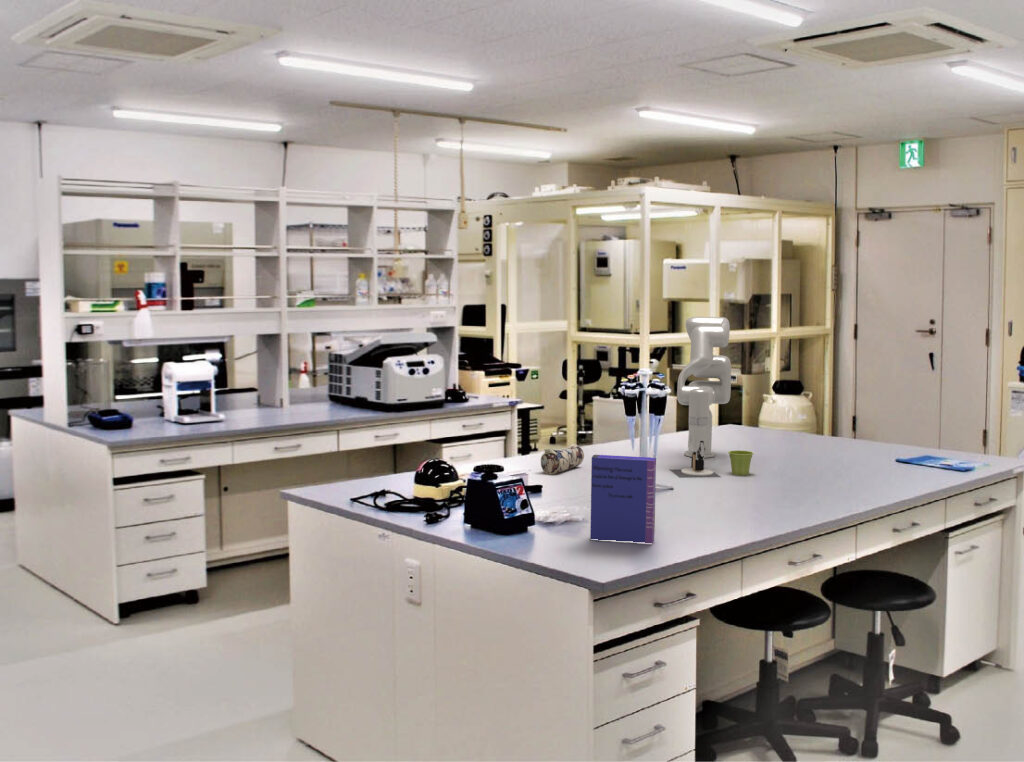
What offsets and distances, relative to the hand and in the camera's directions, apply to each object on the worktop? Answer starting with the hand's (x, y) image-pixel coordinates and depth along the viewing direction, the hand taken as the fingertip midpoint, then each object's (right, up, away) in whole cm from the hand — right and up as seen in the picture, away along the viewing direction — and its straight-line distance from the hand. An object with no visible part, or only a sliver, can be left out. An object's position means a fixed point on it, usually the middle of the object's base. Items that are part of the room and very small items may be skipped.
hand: (697, 468), depth 388 cm
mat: (-1, -2, 0) cm, 2 cm away
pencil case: (-51, -1, +7) cm, 51 cm away
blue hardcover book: (-39, -12, -99) cm, 107 cm away
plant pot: (+16, -3, 0) cm, 16 cm away
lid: (0, -2, 0) cm, 2 cm away
